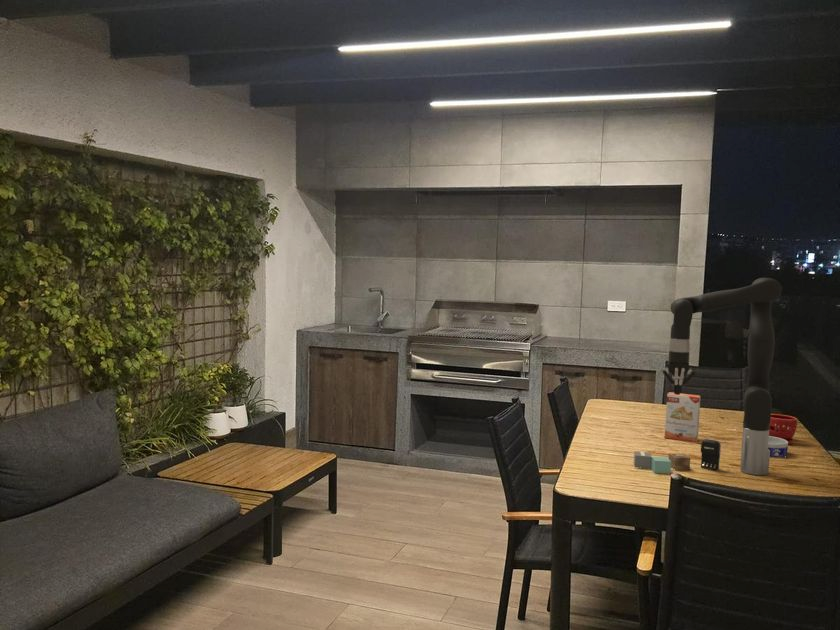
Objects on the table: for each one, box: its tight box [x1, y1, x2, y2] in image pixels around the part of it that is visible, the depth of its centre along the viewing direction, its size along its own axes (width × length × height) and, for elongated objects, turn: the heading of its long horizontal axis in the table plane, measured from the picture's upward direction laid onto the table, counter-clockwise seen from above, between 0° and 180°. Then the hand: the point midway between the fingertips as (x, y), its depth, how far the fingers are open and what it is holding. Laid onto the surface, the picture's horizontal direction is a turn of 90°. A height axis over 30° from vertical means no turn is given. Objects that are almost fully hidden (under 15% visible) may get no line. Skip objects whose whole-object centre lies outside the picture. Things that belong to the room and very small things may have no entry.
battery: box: [700, 438, 722, 471], centre depth 277 cm, size 7×4×11 cm, turn 49°
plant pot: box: [769, 413, 798, 445], centre depth 323 cm, size 13×13×12 cm
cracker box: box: [664, 391, 702, 443], centre depth 323 cm, size 14×6×21 cm, turn 62°
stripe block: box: [633, 451, 652, 470], centre depth 278 cm, size 6×6×5 cm
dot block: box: [668, 453, 691, 471], centre depth 277 cm, size 6×6×5 cm
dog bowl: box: [768, 436, 789, 458], centre depth 304 cm, size 15×15×6 cm
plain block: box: [650, 456, 672, 475], centre depth 272 cm, size 6×6×5 cm
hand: (676, 394), depth 276 cm, fingers closed
